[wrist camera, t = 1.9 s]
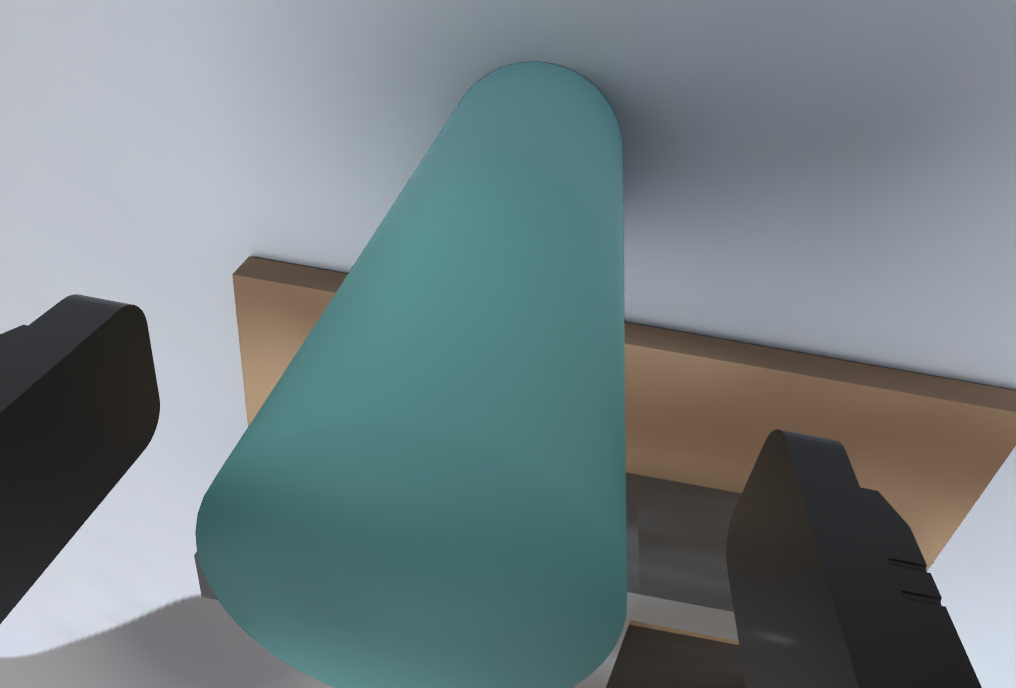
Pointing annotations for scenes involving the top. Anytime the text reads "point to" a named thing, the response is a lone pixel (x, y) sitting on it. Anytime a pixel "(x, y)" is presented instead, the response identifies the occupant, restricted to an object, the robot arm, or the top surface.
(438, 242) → the peg
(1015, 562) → the top surface
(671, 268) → the top surface
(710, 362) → the dock
